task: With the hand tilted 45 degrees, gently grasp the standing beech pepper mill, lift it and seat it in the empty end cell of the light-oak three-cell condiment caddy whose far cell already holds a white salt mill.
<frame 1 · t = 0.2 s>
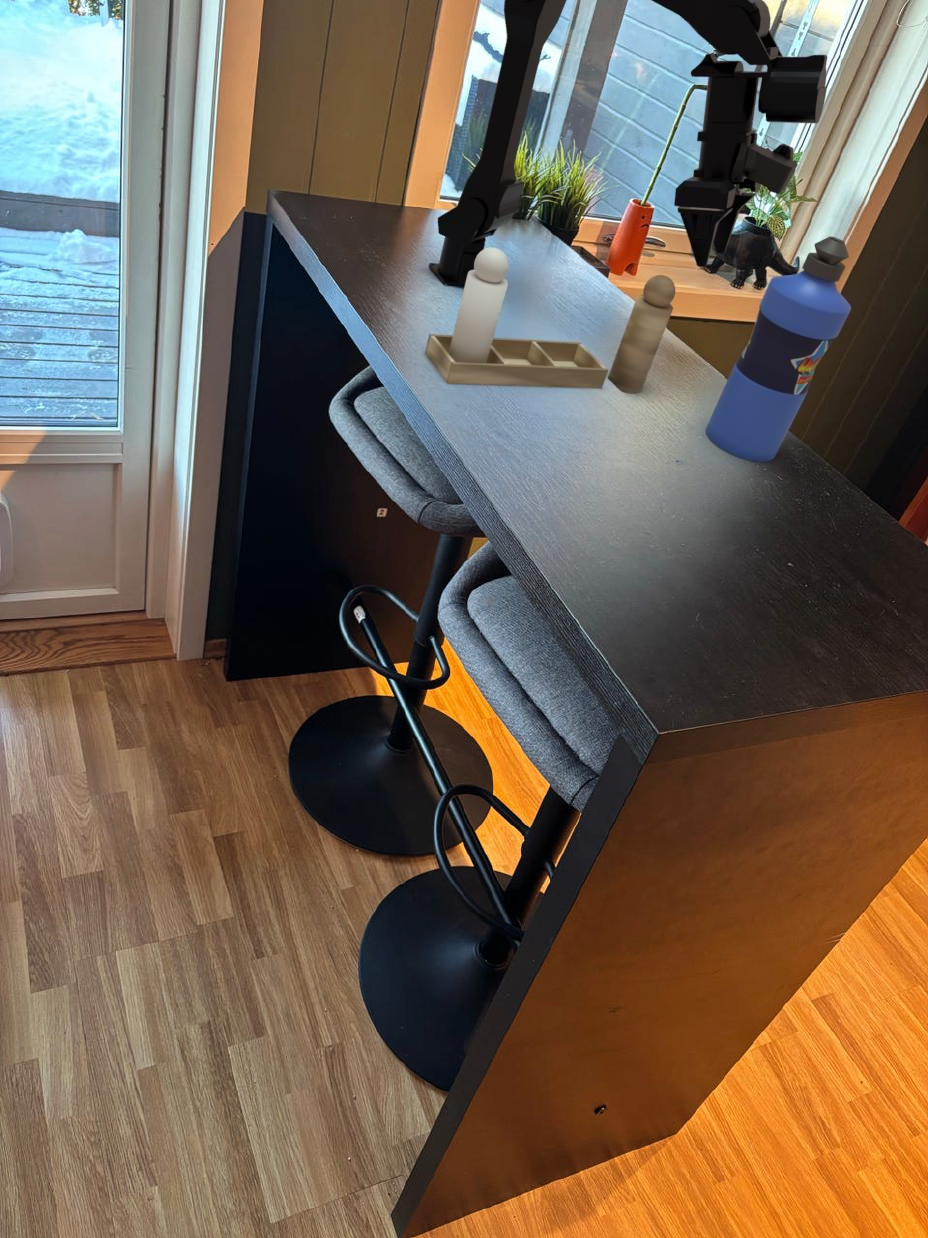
hand: (711, 259, 121), 15 cm above the table, tool tilted 15°, fingers open, 9 cm apart
caddy: (513, 376, 116), on the table
pepper mill: (624, 384, 123), on the table
water bottle: (739, 443, 118), on the table
salt mill: (464, 368, 113), point 1 cm above the table, touching caddy
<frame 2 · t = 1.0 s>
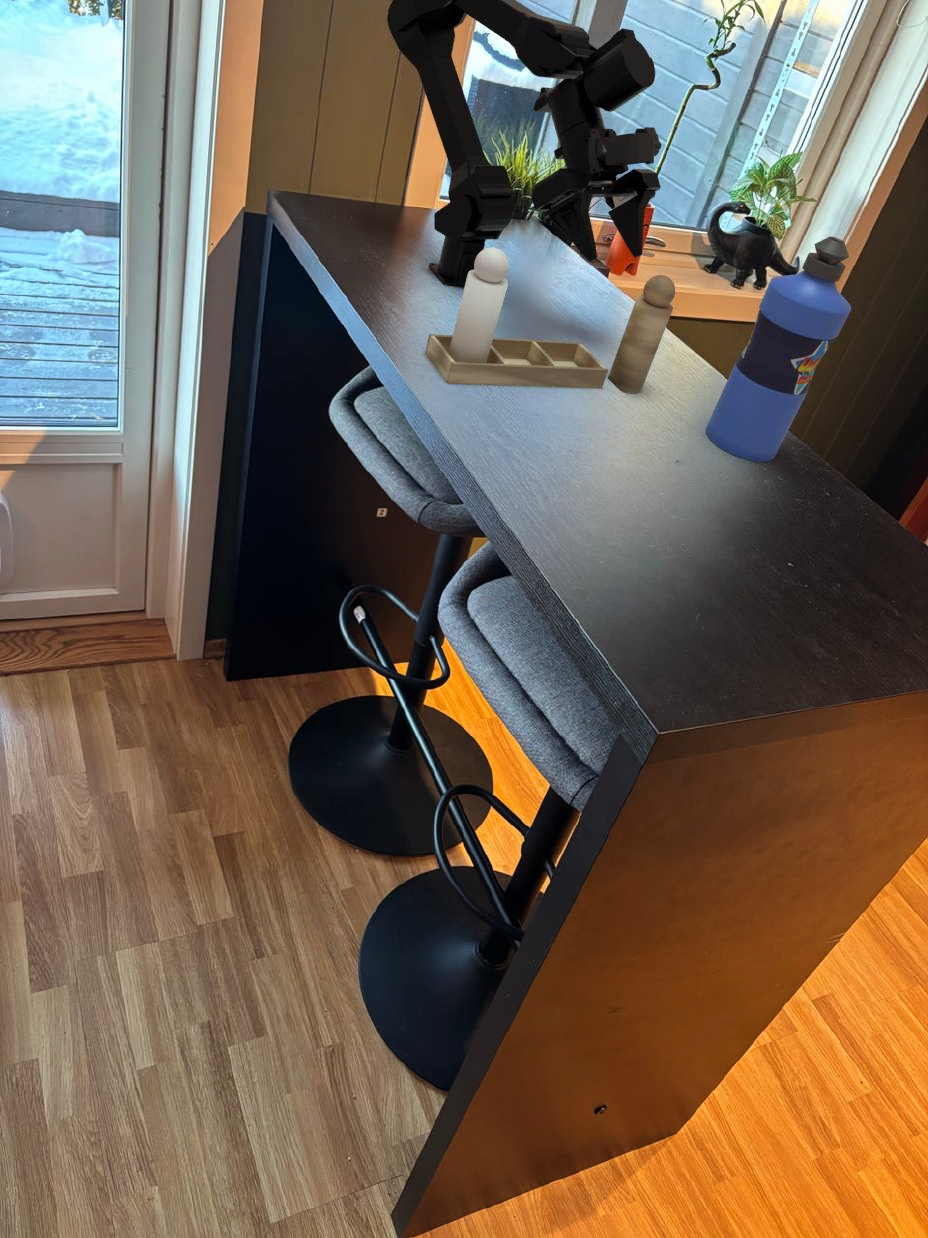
hand: (616, 258, 118), 13 cm above the table, tool tilted 45°, fingers open, 9 cm apart
nothing on the table moved.
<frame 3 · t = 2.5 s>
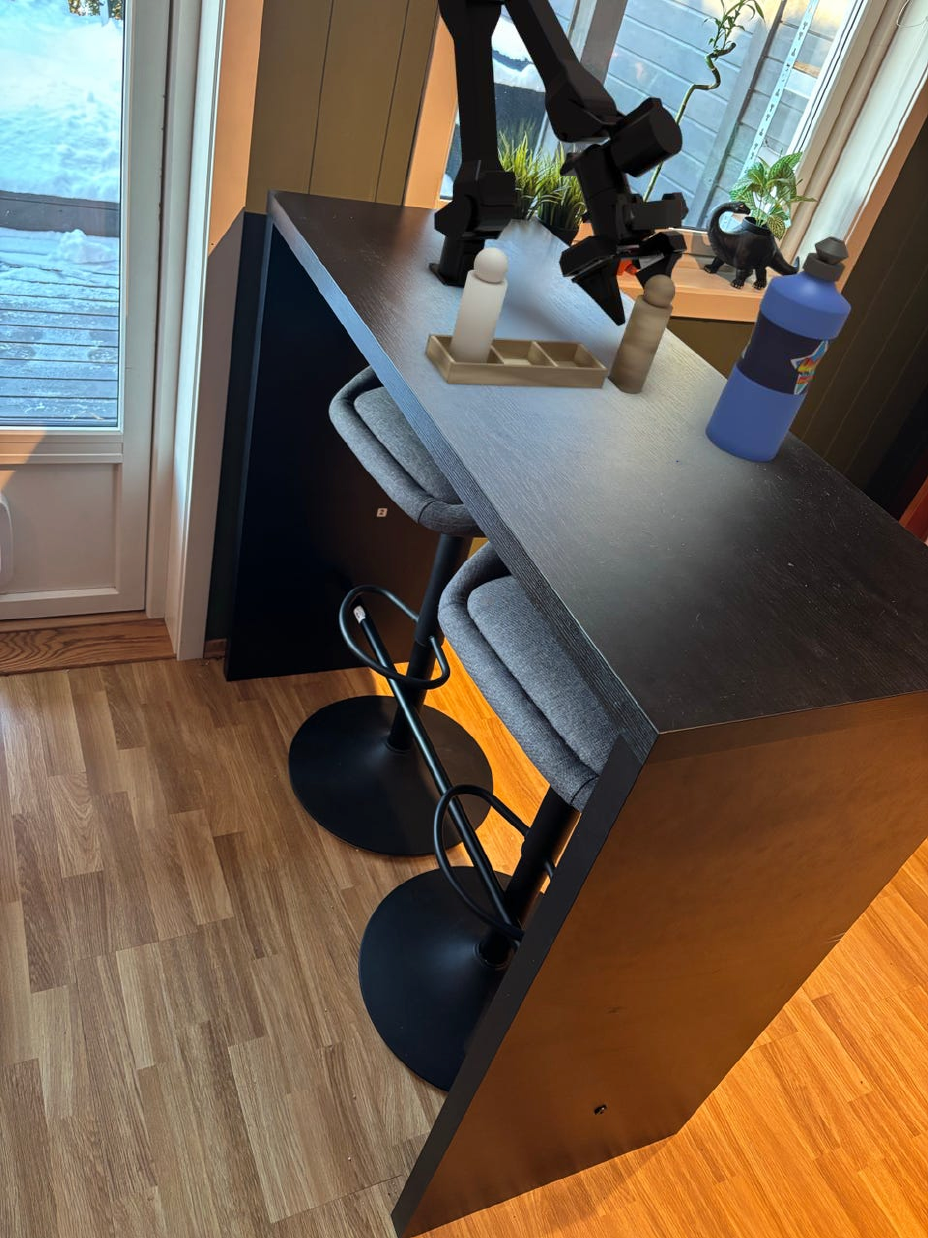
hand: (644, 321, 118), 8 cm above the table, tool tilted 45°, fingers open, 9 cm apart
nothing on the table moved.
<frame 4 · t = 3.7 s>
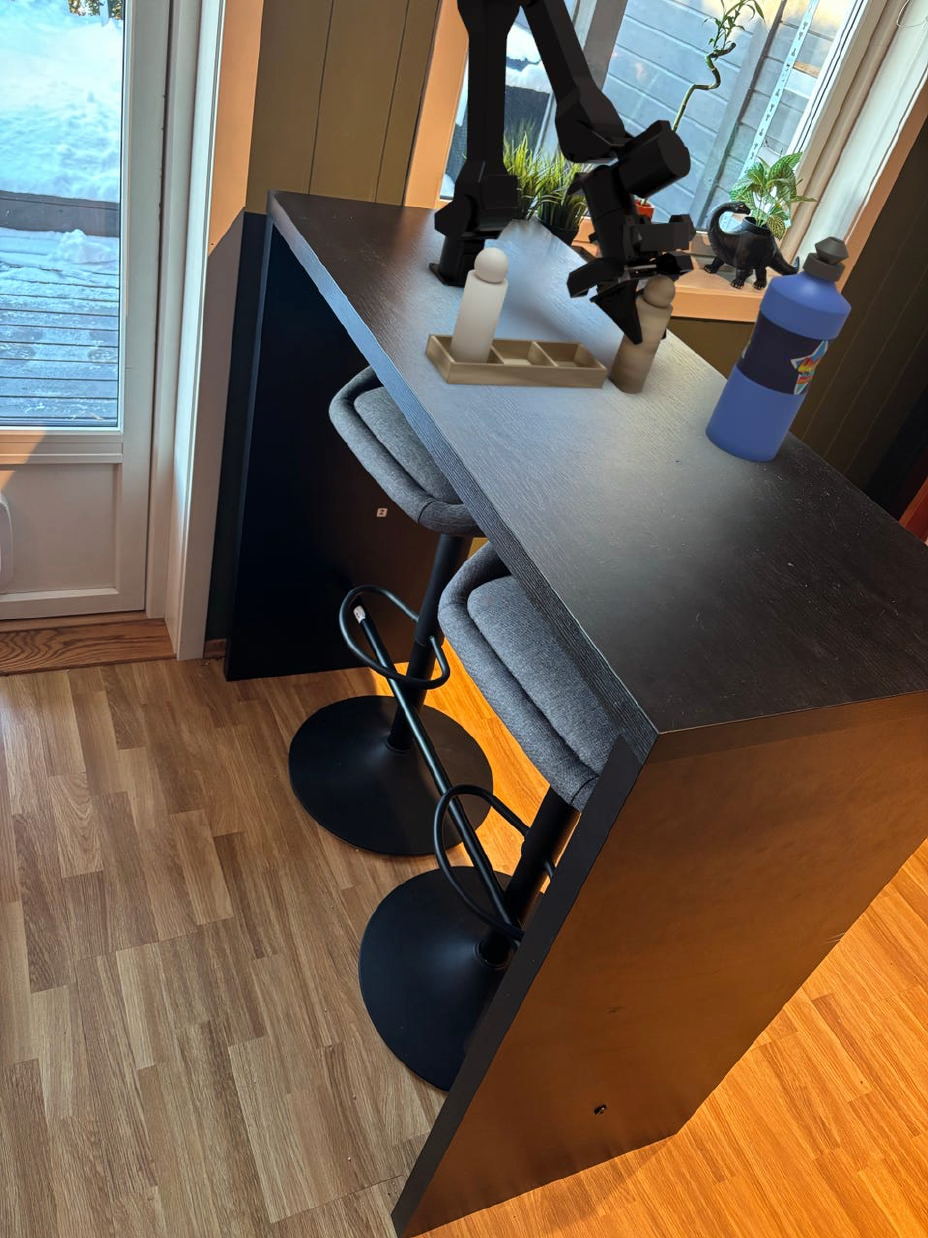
hand: (650, 341, 118), 7 cm above the table, tool tilted 45°, fingers closed on pepper mill, 5 cm apart
pepper mill: (624, 384, 123), on the table, touching gripper
everything else where it was.
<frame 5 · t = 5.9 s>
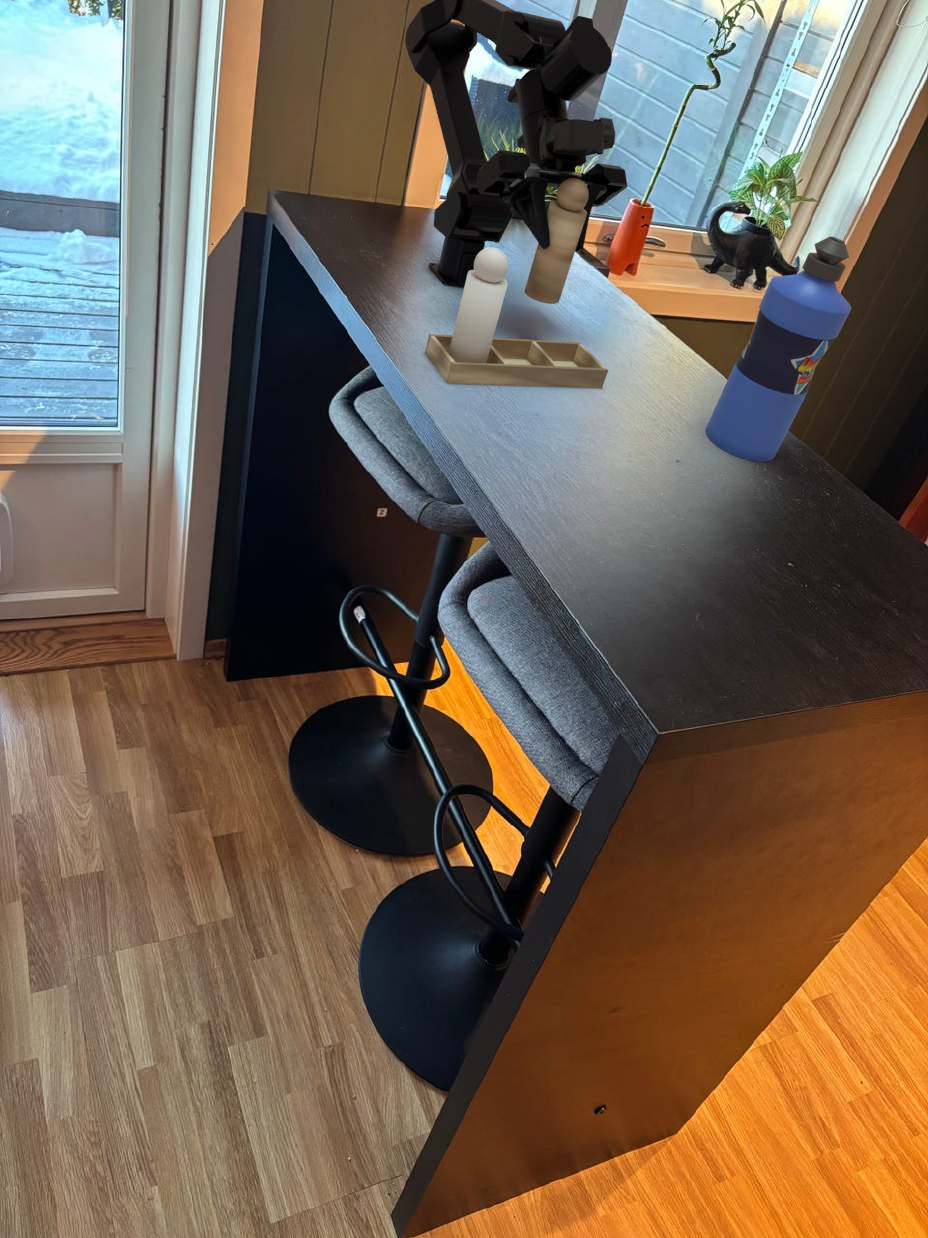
hand: (563, 248, 116), 13 cm above the table, tool tilted 45°, fingers closed on pepper mill, 5 cm apart
pepper mill: (541, 295, 121), point 7 cm above the table, touching gripper
everything else where it was.
when the fingers open (8 cm above the table, at t = 8.2 s): pepper mill drops 1 cm, resting on caddy.
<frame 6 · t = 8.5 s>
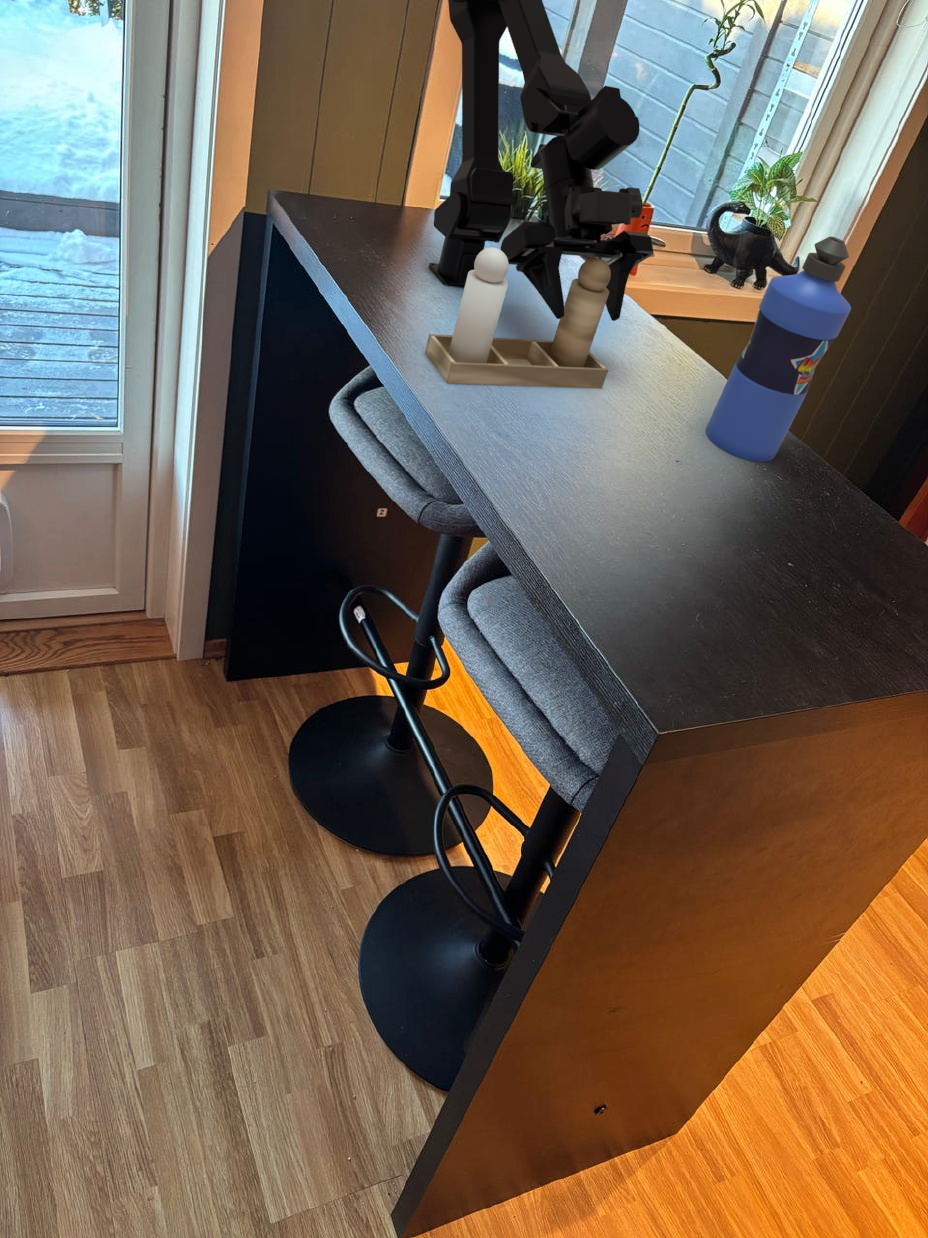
hand: (588, 318, 113), 9 cm above the table, tool tilted 45°, fingers open, 8 cm apart
pepper mill: (562, 372, 119), point 1 cm above the table, touching caddy
everything else where it was.
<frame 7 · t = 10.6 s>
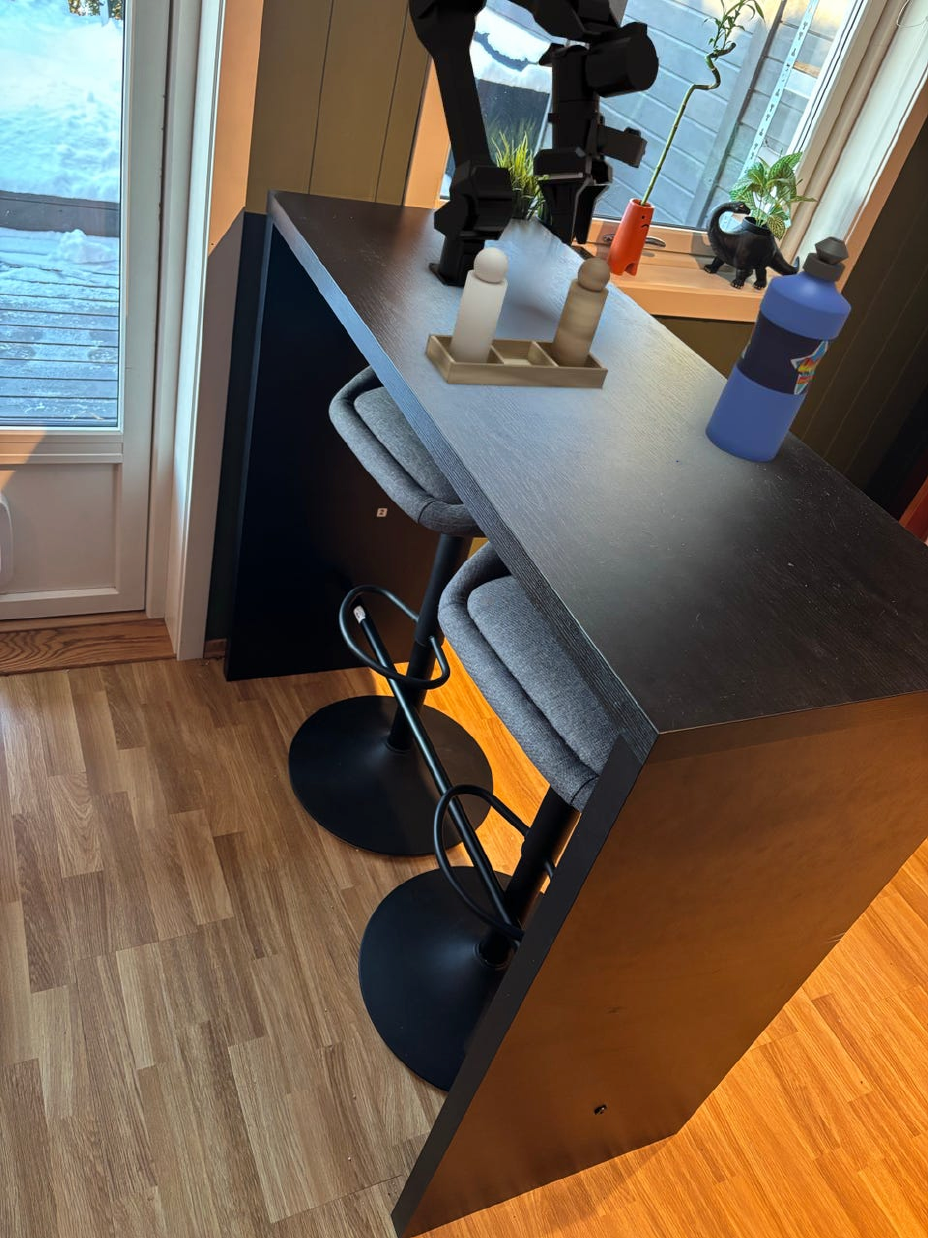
hand: (574, 243, 120), 13 cm above the table, tool tilted 25°, fingers open, 9 cm apart
nothing on the table moved.
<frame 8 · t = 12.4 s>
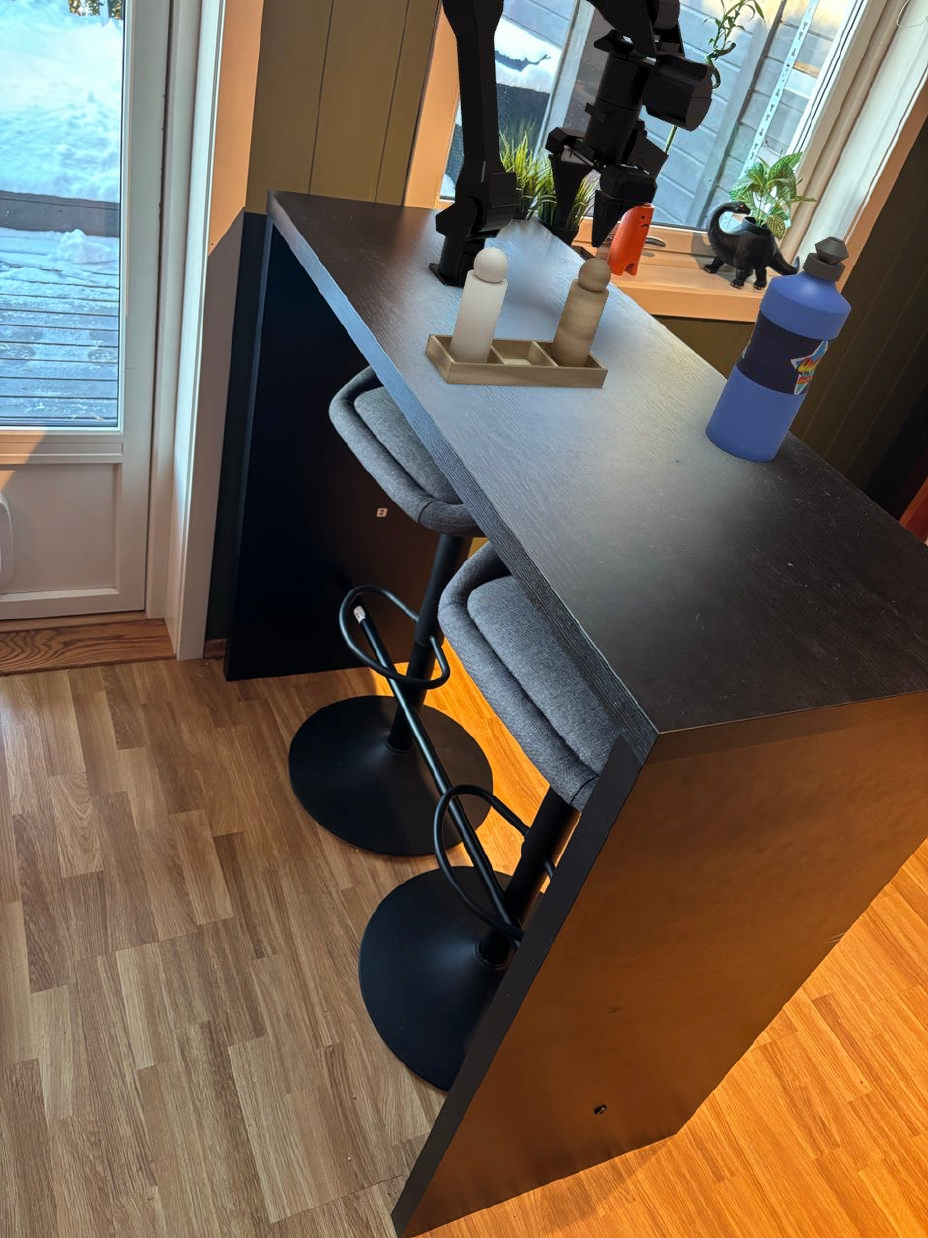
hand: (578, 233, 124), 13 cm above the table, tool pointing down, fingers open, 9 cm apart
nothing on the table moved.
at the end: pepper mill 0.1 cm from the target spot on the caddy, point 0.8 cm above the caddy's base; pepper mill tilted 1°; the gripper is holding nothing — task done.
